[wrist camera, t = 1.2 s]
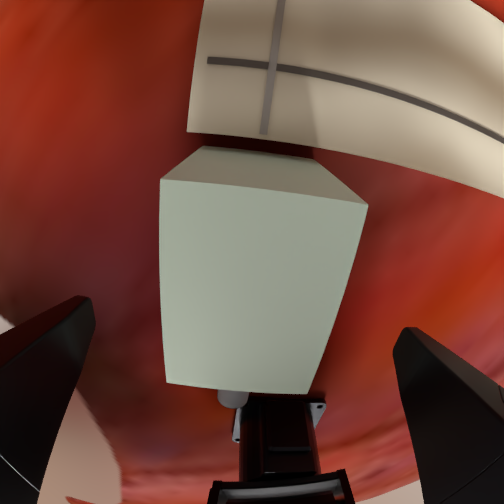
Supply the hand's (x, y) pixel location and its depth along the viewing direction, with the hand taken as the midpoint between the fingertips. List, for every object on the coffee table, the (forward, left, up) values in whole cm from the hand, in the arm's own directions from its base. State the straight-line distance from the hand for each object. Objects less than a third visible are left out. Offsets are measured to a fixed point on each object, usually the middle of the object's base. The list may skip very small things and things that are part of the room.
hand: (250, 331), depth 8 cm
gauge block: (-1, 0, -8) cm, 8 cm away
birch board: (+9, -10, -8) cm, 16 cm away
